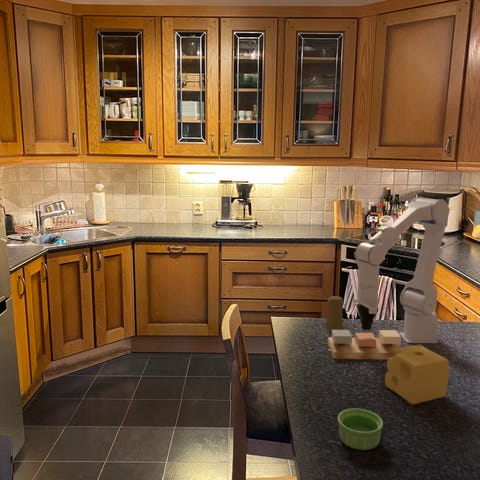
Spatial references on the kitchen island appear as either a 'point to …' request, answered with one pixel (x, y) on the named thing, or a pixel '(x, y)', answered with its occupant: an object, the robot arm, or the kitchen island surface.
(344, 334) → the button slate
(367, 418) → the ramekin
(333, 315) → the butternut squash
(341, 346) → the button board
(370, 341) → the button terracotta
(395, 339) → the button cream
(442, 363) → the cheese
